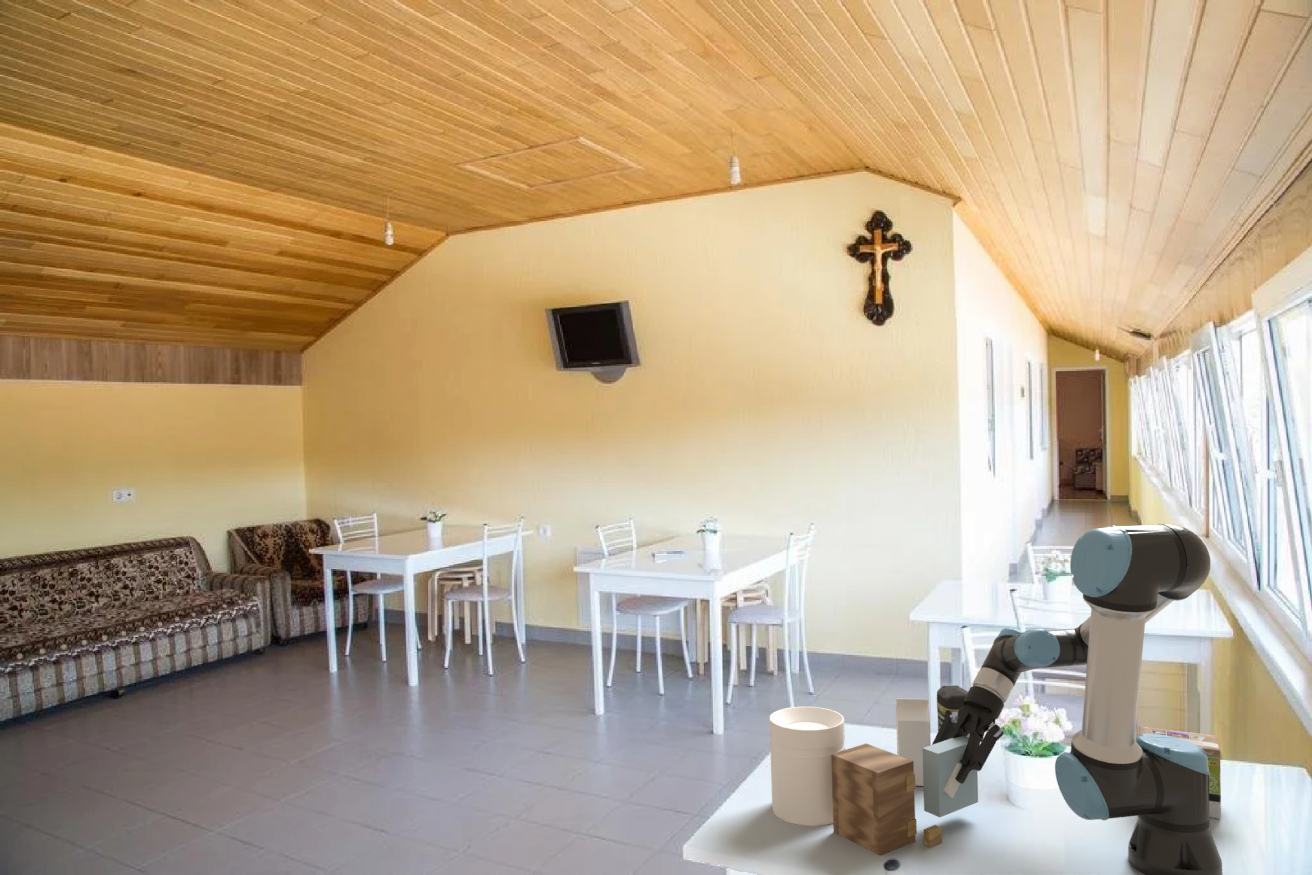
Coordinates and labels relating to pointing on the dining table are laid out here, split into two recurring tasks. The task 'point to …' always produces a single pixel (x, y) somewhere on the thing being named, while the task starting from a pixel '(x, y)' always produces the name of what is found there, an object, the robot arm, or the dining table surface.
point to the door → (946, 777)
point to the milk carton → (913, 732)
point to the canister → (804, 763)
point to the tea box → (1213, 754)
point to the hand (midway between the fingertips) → (938, 790)
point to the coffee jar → (949, 701)
